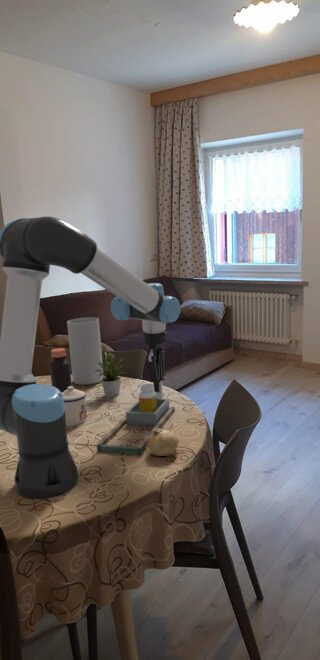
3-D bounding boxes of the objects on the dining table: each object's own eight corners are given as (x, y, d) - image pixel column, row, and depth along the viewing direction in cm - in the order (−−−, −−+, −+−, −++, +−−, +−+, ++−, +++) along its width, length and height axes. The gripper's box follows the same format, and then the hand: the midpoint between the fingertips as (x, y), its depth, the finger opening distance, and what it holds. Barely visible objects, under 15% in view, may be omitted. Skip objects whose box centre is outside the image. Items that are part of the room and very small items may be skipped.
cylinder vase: (94, 374, 215) (89, 316, 210) (109, 380, 205) (104, 319, 200) (67, 381, 208) (61, 321, 203) (81, 387, 198) (75, 324, 193)
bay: (141, 454, 135) (141, 447, 135) (97, 450, 139) (96, 444, 139) (175, 412, 165) (174, 406, 164) (137, 410, 169) (137, 404, 168)
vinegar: (73, 406, 176) (67, 351, 172) (53, 408, 175) (47, 352, 171) (73, 400, 183) (68, 346, 179) (54, 402, 182) (48, 348, 178)
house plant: (86, 392, 191) (82, 350, 188) (121, 386, 196) (118, 345, 193) (97, 403, 178) (93, 358, 175) (133, 396, 183) (130, 352, 180)
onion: (164, 444, 141) (163, 420, 140) (184, 452, 135) (183, 427, 134) (142, 454, 136) (140, 429, 134) (162, 463, 130) (161, 437, 128)
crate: (156, 426, 152) (155, 414, 151) (126, 424, 155) (125, 412, 154) (169, 410, 165) (168, 399, 164) (141, 409, 168) (141, 397, 167)
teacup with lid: (86, 426, 158) (82, 390, 155) (57, 428, 158) (53, 392, 155) (90, 412, 169) (87, 379, 167) (63, 414, 169) (60, 381, 167)
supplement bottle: (156, 418, 157) (154, 388, 155) (139, 418, 157) (137, 388, 155) (157, 411, 162) (156, 382, 160) (141, 412, 163) (139, 383, 161)
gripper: (159, 335, 158) (163, 407, 162) (171, 327, 170) (175, 394, 174) (136, 335, 160) (141, 406, 165) (150, 327, 172) (154, 393, 177)
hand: (158, 400), depth 169 cm, fingers closed
